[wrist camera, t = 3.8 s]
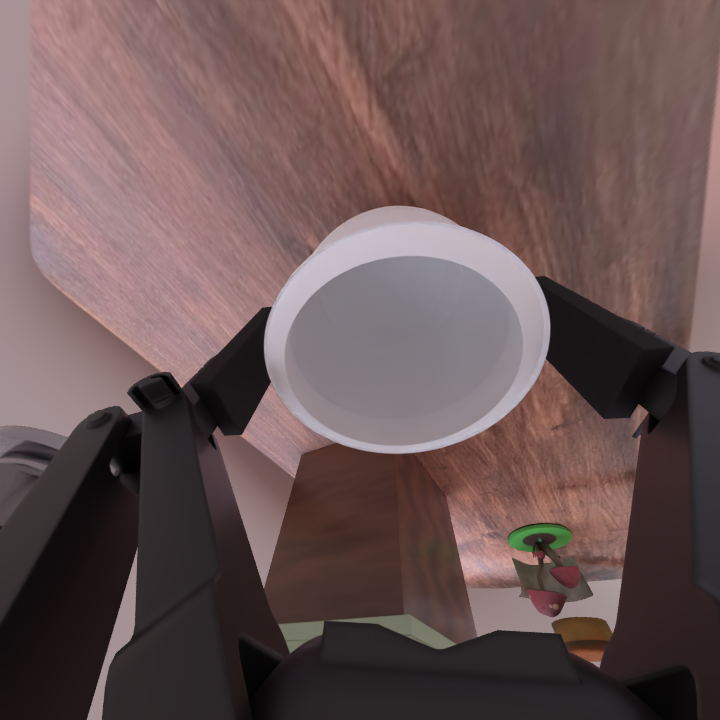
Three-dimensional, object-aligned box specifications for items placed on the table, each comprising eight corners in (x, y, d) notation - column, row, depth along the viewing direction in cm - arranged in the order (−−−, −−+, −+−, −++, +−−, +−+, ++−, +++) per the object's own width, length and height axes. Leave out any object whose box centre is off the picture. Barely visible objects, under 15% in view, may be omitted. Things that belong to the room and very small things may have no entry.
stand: (446, 497, 42) (483, 665, 27) (367, 514, 47) (363, 666, 32) (391, 423, 33) (404, 617, 18) (301, 455, 38) (252, 628, 23)
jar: (433, 172, 18) (557, 142, 6) (458, 302, 23) (551, 431, 11) (304, 232, 21) (197, 299, 8) (352, 336, 26) (330, 472, 14)
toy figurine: (495, 527, 47) (538, 649, 35) (573, 518, 44) (650, 648, 31) (503, 552, 53) (541, 664, 41) (571, 546, 50) (636, 665, 37)
